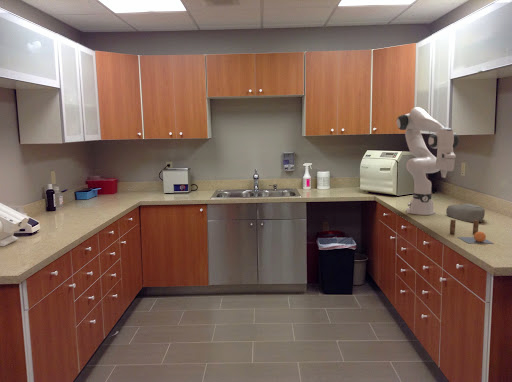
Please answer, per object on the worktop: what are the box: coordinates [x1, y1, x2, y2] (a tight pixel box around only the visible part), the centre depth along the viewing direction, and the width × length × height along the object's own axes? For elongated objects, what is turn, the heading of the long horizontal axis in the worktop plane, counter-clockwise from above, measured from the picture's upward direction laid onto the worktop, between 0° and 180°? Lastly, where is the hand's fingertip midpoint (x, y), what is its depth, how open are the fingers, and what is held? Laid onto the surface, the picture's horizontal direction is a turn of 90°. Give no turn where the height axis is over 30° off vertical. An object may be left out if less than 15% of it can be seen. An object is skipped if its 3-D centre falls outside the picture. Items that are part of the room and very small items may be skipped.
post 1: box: [449, 219, 457, 236], centre depth 246 cm, size 3×3×8 cm
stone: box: [445, 203, 486, 223], centre depth 287 cm, size 28×10×20 cm
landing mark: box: [457, 236, 494, 245], centre depth 232 cm, size 13×13×1 cm
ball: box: [473, 231, 487, 242], centre depth 228 cm, size 6×6×6 cm
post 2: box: [472, 220, 480, 236], centre depth 245 cm, size 3×3×8 cm
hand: (443, 177), depth 268 cm, fingers closed
